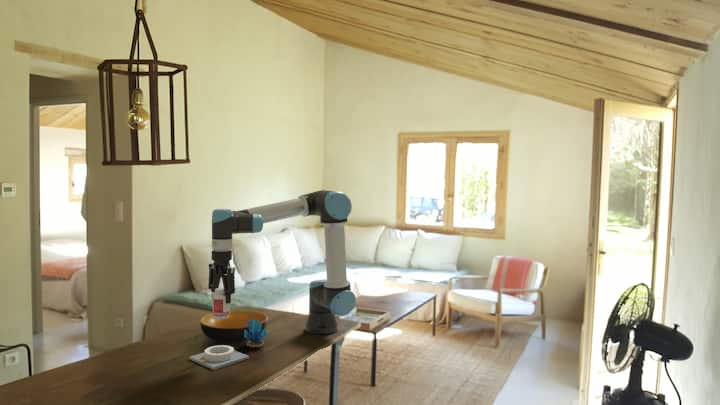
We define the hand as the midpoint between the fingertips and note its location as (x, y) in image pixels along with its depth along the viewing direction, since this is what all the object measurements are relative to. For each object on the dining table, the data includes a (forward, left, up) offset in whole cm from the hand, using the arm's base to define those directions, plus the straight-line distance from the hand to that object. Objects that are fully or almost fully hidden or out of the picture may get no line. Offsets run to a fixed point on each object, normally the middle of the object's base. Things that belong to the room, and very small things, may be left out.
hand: (221, 309), depth 196 cm
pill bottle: (0, 0, -3) cm, 3 cm away
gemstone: (-20, -4, -19) cm, 28 cm away
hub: (0, -1, -19) cm, 19 cm away
